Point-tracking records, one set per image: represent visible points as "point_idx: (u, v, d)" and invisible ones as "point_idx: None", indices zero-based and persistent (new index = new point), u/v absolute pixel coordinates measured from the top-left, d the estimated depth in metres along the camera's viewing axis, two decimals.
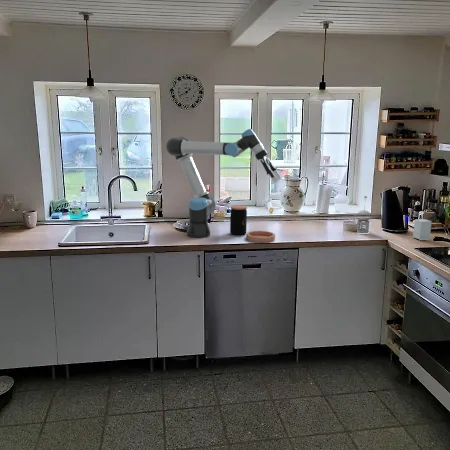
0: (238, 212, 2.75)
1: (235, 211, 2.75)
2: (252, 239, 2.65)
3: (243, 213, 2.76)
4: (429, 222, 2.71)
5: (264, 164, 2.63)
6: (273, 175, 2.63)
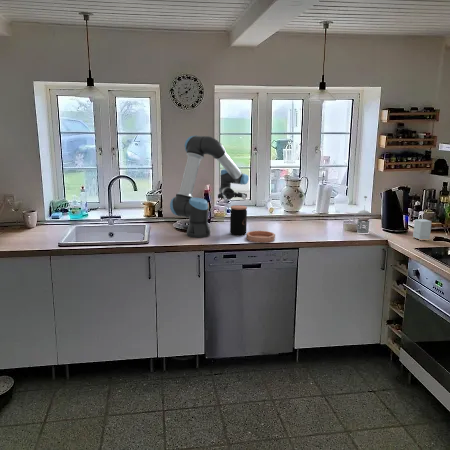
0: (238, 212, 2.75)
1: (235, 211, 2.75)
2: (252, 239, 2.65)
3: (243, 213, 2.76)
4: (429, 222, 2.71)
5: None
6: None
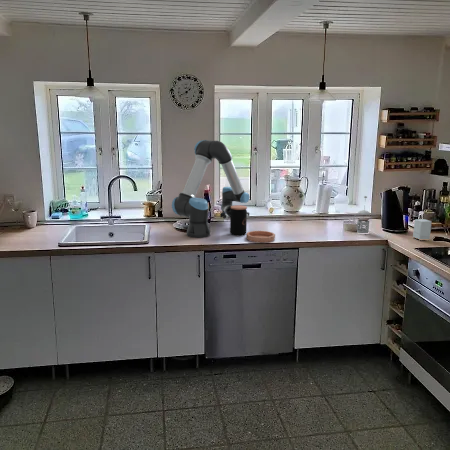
0: (238, 212, 2.75)
1: (235, 211, 2.75)
2: (252, 239, 2.65)
3: (243, 213, 2.76)
4: (429, 222, 2.71)
5: None
6: None
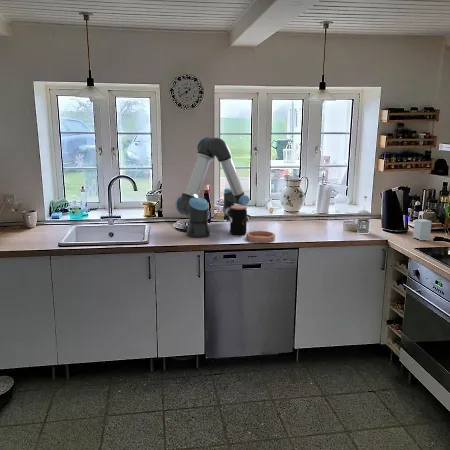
0: (238, 212, 2.75)
1: (235, 211, 2.75)
2: (252, 239, 2.65)
3: (243, 213, 2.76)
4: (429, 222, 2.71)
5: None
6: None
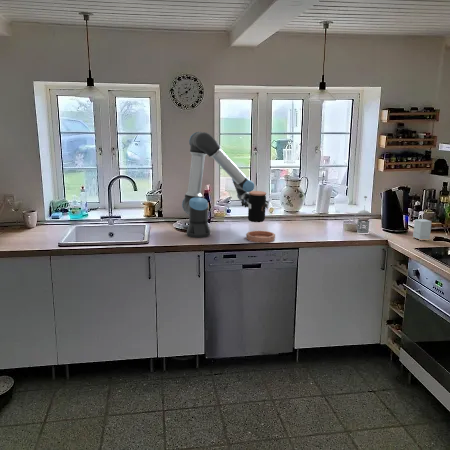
0: (257, 198, 2.66)
1: (254, 197, 2.67)
2: (252, 239, 2.65)
3: (262, 199, 2.67)
4: (429, 222, 2.71)
5: None
6: None
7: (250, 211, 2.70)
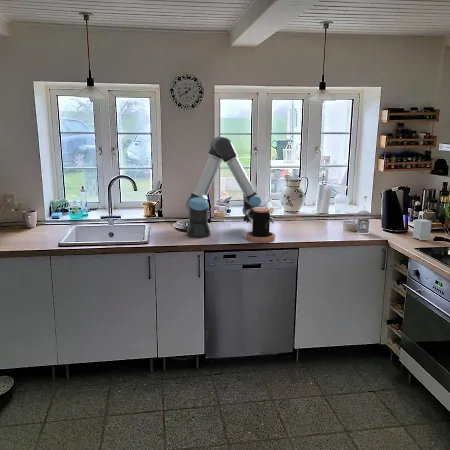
0: (261, 215, 2.64)
1: (258, 214, 2.64)
2: (252, 239, 2.65)
3: (266, 216, 2.65)
4: (429, 222, 2.71)
5: None
6: None
7: (254, 228, 2.68)
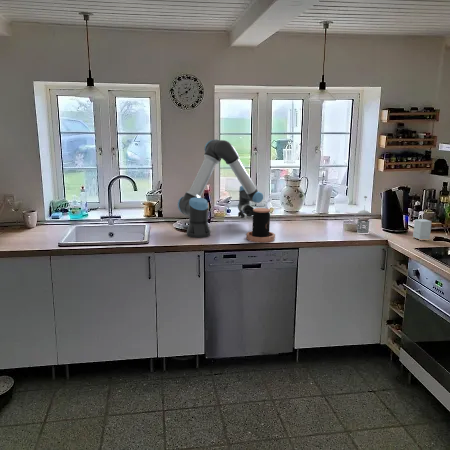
0: (261, 215, 2.64)
1: (258, 214, 2.64)
2: (252, 239, 2.65)
3: (266, 216, 2.65)
4: (429, 222, 2.71)
5: None
6: None
7: (254, 228, 2.68)
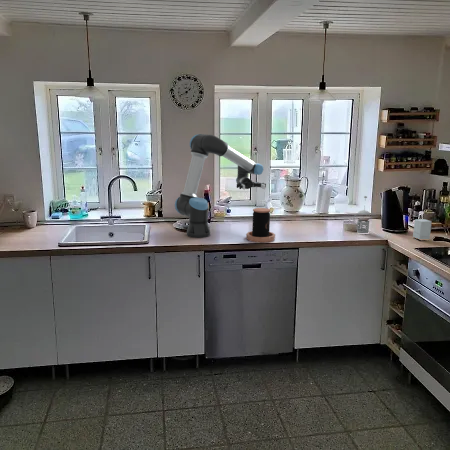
0: (261, 215, 2.64)
1: (258, 214, 2.64)
2: (252, 239, 2.65)
3: (266, 216, 2.65)
4: (429, 222, 2.71)
5: None
6: None
7: (254, 228, 2.68)
